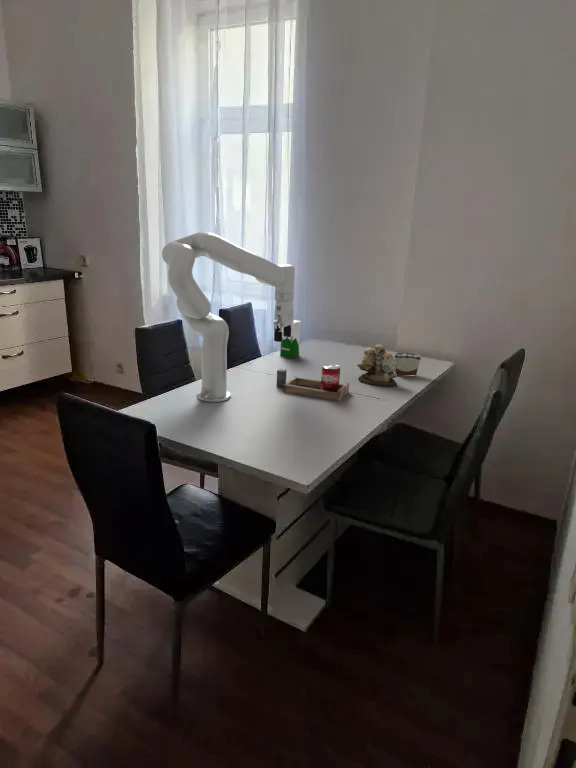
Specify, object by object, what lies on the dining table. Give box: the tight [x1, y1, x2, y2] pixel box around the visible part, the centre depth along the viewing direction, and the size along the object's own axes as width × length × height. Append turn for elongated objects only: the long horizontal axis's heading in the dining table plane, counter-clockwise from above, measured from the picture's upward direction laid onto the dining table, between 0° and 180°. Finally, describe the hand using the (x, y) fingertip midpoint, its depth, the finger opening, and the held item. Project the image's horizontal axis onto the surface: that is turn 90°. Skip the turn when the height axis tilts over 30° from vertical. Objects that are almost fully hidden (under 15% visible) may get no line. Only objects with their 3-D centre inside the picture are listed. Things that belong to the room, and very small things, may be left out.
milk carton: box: [279, 319, 302, 359], centre depth 264 cm, size 9×9×20 cm
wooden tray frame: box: [276, 368, 350, 402], centre depth 213 cm, size 12×29×7 cm, turn 68°
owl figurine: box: [356, 343, 398, 388], centre depth 227 cm, size 18×12×17 cm, turn 65°
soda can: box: [320, 363, 341, 393], centre depth 210 cm, size 7×7×12 cm
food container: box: [393, 351, 422, 376], centre depth 242 cm, size 12×6×10 cm, turn 84°
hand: (282, 339), depth 213 cm, fingers open, 9 cm apart
